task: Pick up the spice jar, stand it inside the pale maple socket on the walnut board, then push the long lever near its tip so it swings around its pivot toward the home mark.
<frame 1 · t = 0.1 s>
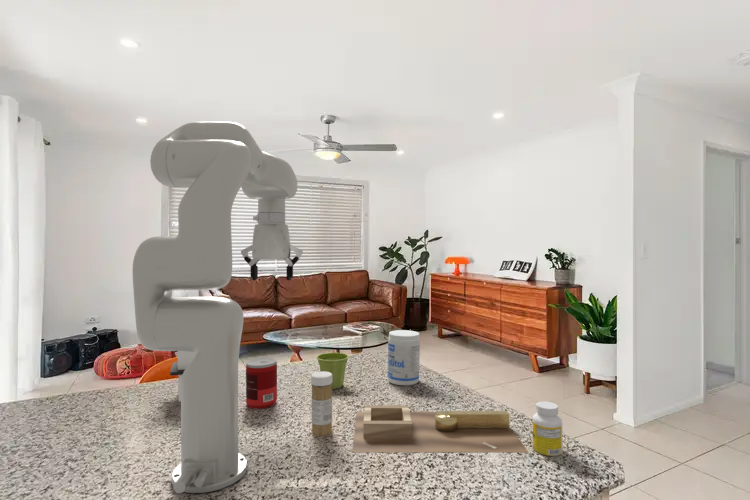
hand: (271, 279, 120), 31 cm above the kitchen counter, tool pointing down, fingers open, 9 cm apart
lever: (471, 419, 92), point 3 cm above the kitchen counter, hinge at 0.0°
supplement bottle: (547, 455, 82), on the kitchen counter
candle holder: (194, 397, 116), on the kitchen counter
supplement tub: (403, 382, 127), on the kitchen counter
socket: (386, 427, 92), resting on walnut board
canned food: (261, 404, 109), on the kitchen counter
spice jar: (321, 437, 90), on the kitchen counter
plant pot: (332, 386, 123), on the kitchen counter
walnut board: (433, 434, 91), on the kitchen counter
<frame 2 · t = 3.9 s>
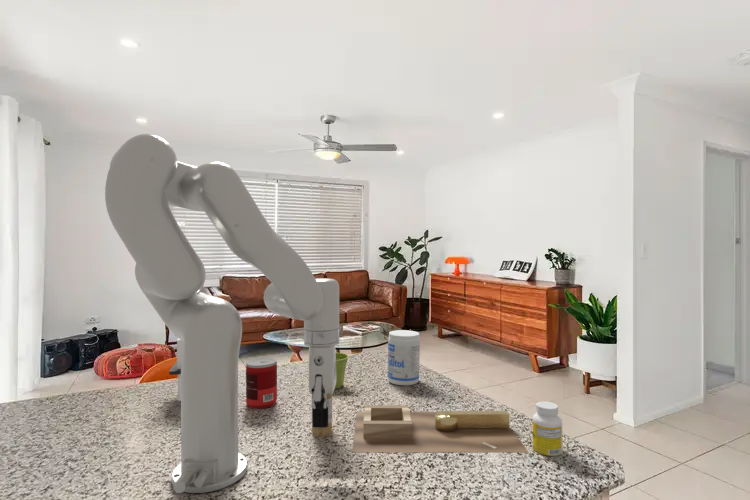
hand: (321, 420, 90), 3 cm above the kitchen counter, tool pointing down, fingers closed on spice jar, 4 cm apart
spice jar: (321, 437, 90), on the kitchen counter, touching gripper
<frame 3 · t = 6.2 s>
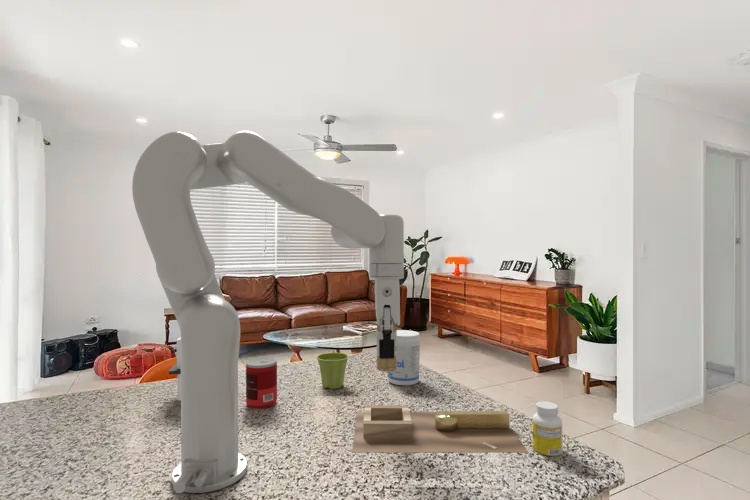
hand: (386, 354, 92), 17 cm above the kitchen counter, tool pointing down, fingers closed on spice jar, 4 cm apart
spice jar: (386, 370, 92), point 14 cm above the kitchen counter, touching gripper
when the fingers open (6 cm above the kitchen counter, at t = 8.6 s): spice jar drops 1 cm, resting on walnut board.
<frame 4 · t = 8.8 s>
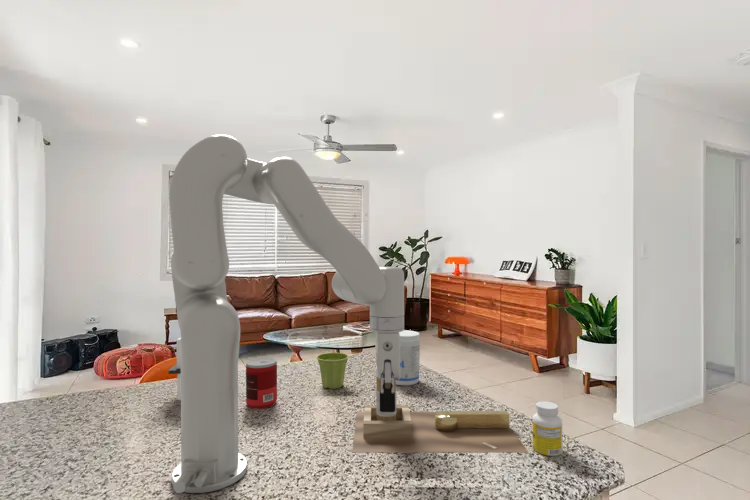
hand: (386, 404, 92), 6 cm above the kitchen counter, tool pointing down, fingers open, 6 cm apart
spice jar: (386, 429, 92), point 1 cm above the kitchen counter, touching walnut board
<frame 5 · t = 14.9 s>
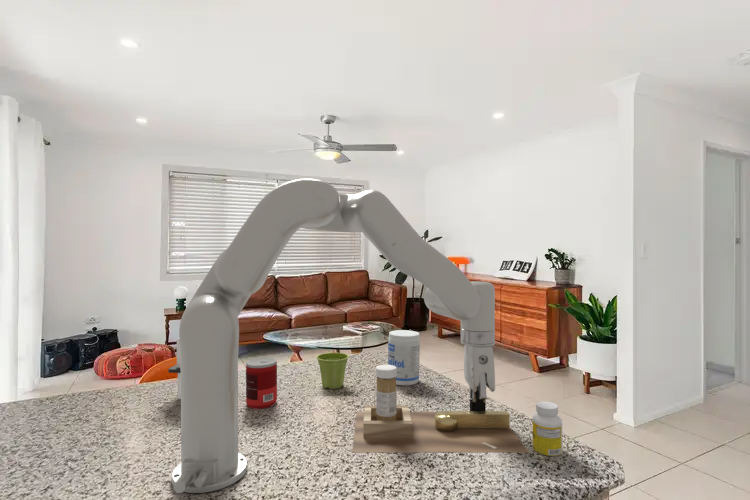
hand: (477, 417, 95), 2 cm above the kitchen counter, tool pointing down, fingers closed
lever: (471, 419, 92), point 3 cm above the kitchen counter, hinge at 0.5°, touching gripper
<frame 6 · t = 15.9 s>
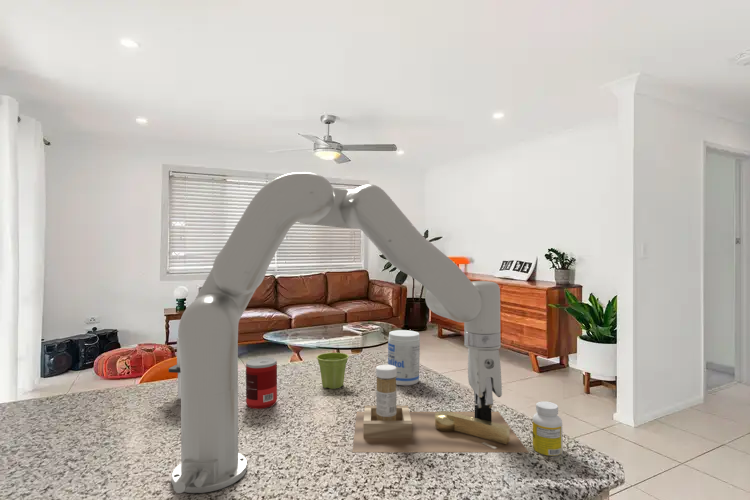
hand: (483, 424, 91), 2 cm above the kitchen counter, tool pointing down, fingers closed
lever: (470, 425, 89), point 3 cm above the kitchen counter, hinge at 35.0°, touching gripper
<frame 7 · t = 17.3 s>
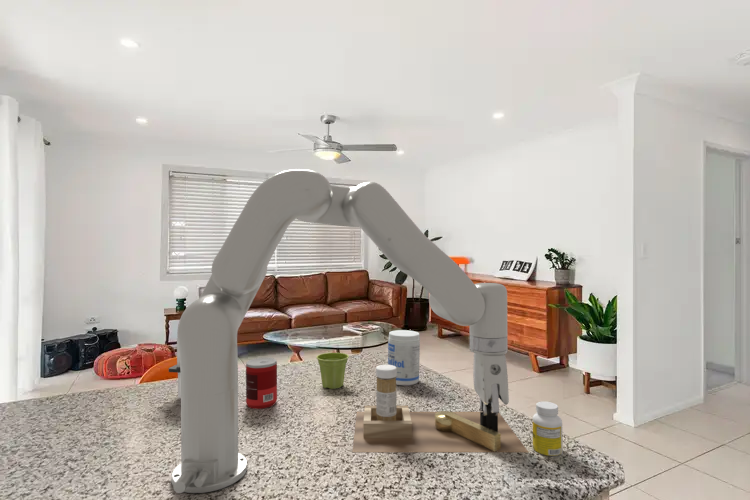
hand: (489, 432, 87), 2 cm above the kitchen counter, tool pointing down, fingers closed
lever: (465, 428, 88), point 3 cm above the kitchen counter, hinge at 53.2°, touching gripper
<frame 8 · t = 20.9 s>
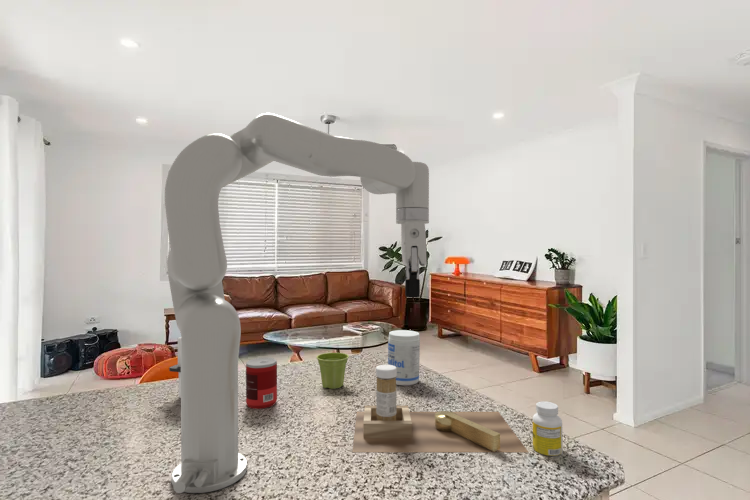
hand: (412, 296, 97), 29 cm above the kitchen counter, tool pointing down, fingers closed
lever: (465, 428, 88), point 3 cm above the kitchen counter, hinge at 54.0°
at the end: spice jar 0.4 cm off-centre on the socket, point 0.0 cm above the socket's base; spice jar tilted 0°; lever at +54° (first picture: +0°) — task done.
